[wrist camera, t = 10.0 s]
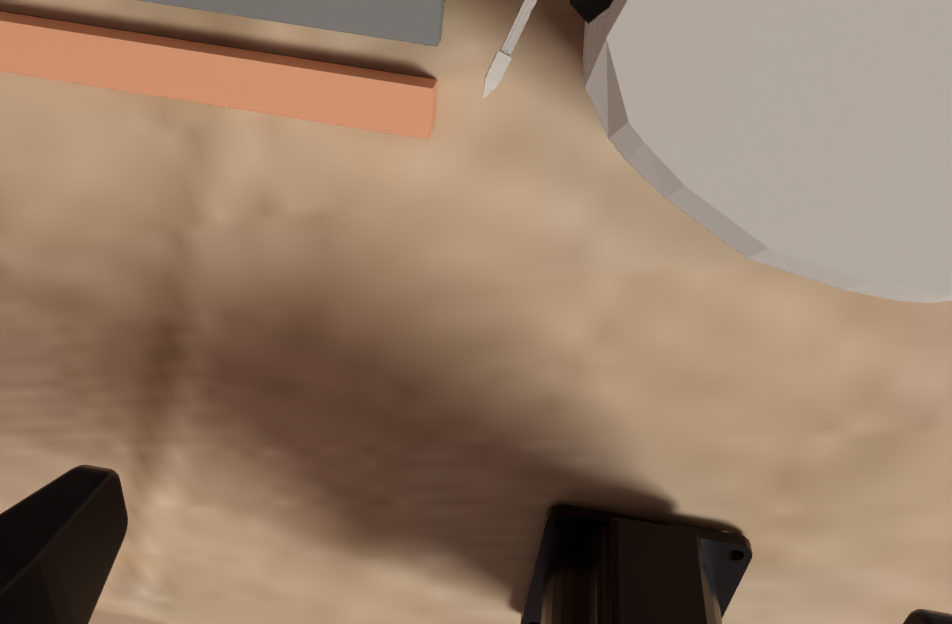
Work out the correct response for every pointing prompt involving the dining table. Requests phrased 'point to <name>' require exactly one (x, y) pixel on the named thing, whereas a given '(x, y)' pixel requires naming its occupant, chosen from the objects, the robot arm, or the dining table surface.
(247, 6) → the mat
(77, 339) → the dining table surface
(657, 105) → the robot toy
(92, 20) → the dining table surface
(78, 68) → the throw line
